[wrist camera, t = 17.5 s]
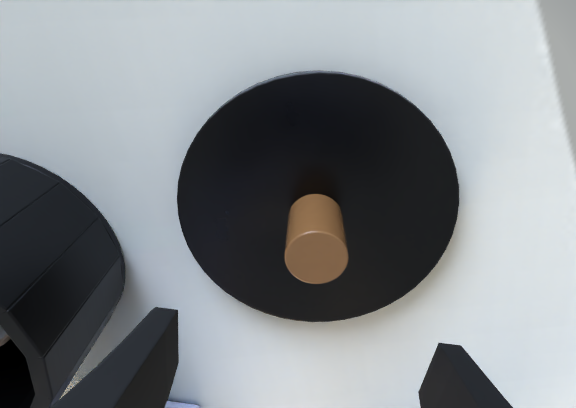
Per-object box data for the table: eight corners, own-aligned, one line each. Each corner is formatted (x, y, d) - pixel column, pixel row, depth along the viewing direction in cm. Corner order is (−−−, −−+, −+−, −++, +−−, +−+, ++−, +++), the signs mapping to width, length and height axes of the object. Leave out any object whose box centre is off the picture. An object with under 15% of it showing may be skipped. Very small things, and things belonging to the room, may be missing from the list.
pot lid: (410, 320, 22) (432, 390, 18) (183, 292, 21) (156, 355, 18) (492, 89, 16) (550, 118, 12) (183, 48, 16) (142, 64, 12)
